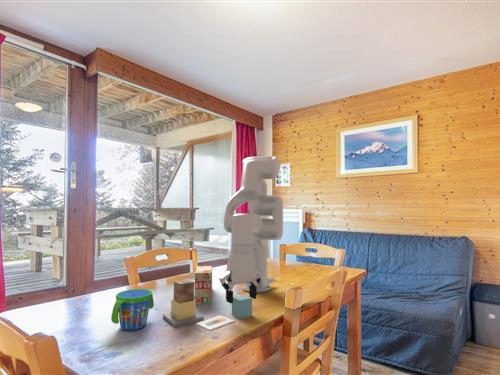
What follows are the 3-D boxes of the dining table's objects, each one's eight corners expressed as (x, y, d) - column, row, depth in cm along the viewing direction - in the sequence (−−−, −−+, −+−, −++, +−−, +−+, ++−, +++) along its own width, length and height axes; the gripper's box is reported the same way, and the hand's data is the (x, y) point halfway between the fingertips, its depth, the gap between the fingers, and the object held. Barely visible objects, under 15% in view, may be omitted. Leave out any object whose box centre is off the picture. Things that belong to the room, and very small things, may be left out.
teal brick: (243, 311, 107) (243, 294, 108) (251, 315, 103) (252, 297, 104) (231, 314, 104) (231, 296, 105) (239, 318, 100) (240, 300, 101)
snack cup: (141, 315, 103) (142, 285, 103) (164, 321, 98) (165, 289, 98) (99, 332, 89) (100, 297, 90) (123, 340, 84) (124, 302, 85)
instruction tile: (220, 316, 103) (220, 314, 103) (234, 321, 98) (234, 320, 98) (195, 324, 95) (195, 322, 95) (209, 330, 91) (209, 329, 91)
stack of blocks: (198, 289, 135) (198, 261, 136) (212, 289, 136) (212, 261, 136) (194, 305, 114) (194, 272, 115) (210, 305, 114) (211, 272, 115)
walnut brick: (187, 296, 104) (187, 278, 104) (193, 300, 100) (194, 281, 100) (173, 299, 101) (173, 280, 101) (179, 303, 97) (180, 284, 97)
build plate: (190, 311, 107) (190, 293, 107) (203, 320, 99) (204, 301, 99) (162, 317, 101) (163, 298, 101) (174, 327, 93) (175, 306, 93)
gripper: (255, 247, 113) (255, 294, 112) (215, 249, 103) (213, 301, 101) (268, 249, 107) (268, 298, 106) (226, 252, 97) (225, 307, 95)
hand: (241, 300), depth 104 cm, fingers open, 9 cm apart
